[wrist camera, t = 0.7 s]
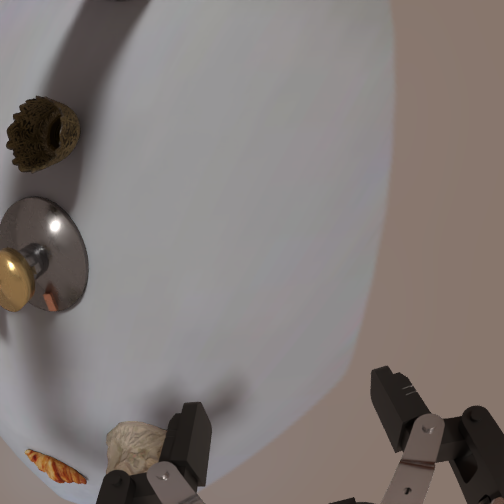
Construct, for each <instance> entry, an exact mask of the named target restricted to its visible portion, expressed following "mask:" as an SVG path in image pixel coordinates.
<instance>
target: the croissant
mask: <svg viewBox="0 0 504 504" xmlns="http://www.w3.org/2000/svg"><path fill="white" fill-rule="evenodd" d="M25 454H26V455H27V456H28V457H29V459H30V460H31V461H32V462H34V463H35V465H36V466H38V468H39V470H41V471H43V472H47V474H48V476H49V477H50V478H51V479H52V480H54V481H56V482H58V483H64V482H67V483H72V482H75V483H78V484H81V483H83V484H86V483H87V481H86V479H85V478H84V477H83V476H82V475H80V474H79V473H78V472H77V471H76V470H74V469H73V468H71V467H69V466H67V465H66V464H64V463H63V462H61V461H58V460H56V459H54V458H52V457H50V456H47V455H43V454H41V453H38V452H34V451H33V450H26V451H25Z"/></svg>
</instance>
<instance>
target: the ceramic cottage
mask: <svg viewBox="0 0 504 504" xmlns="http://www.w3.org/2000/svg"><path fill="white" fill-rule="evenodd" d="M166 432H167V430H164V429H161V428H158V427H156V426H153V425H150V424H146V423H143V422H138V421H127V422H121V423H119V424H118V425H117V426H116V427H115V428H114V429H112V430H111V431H110V432H109V433H108V434H107V440H106V443H107V445H108V451H107V457H108V467H107V470H106V474H108V473H109V472H110V471H113V470H123V471H125V472H127V473H128V474H129V475H135V474H140V473H145V472H147V471H148V469H149V468H150V467H151V466H152V465H153V464H155V463H158V461H159V458H160V454H161V450H162V447H163V443H164V440H165V438H166Z"/></svg>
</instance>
